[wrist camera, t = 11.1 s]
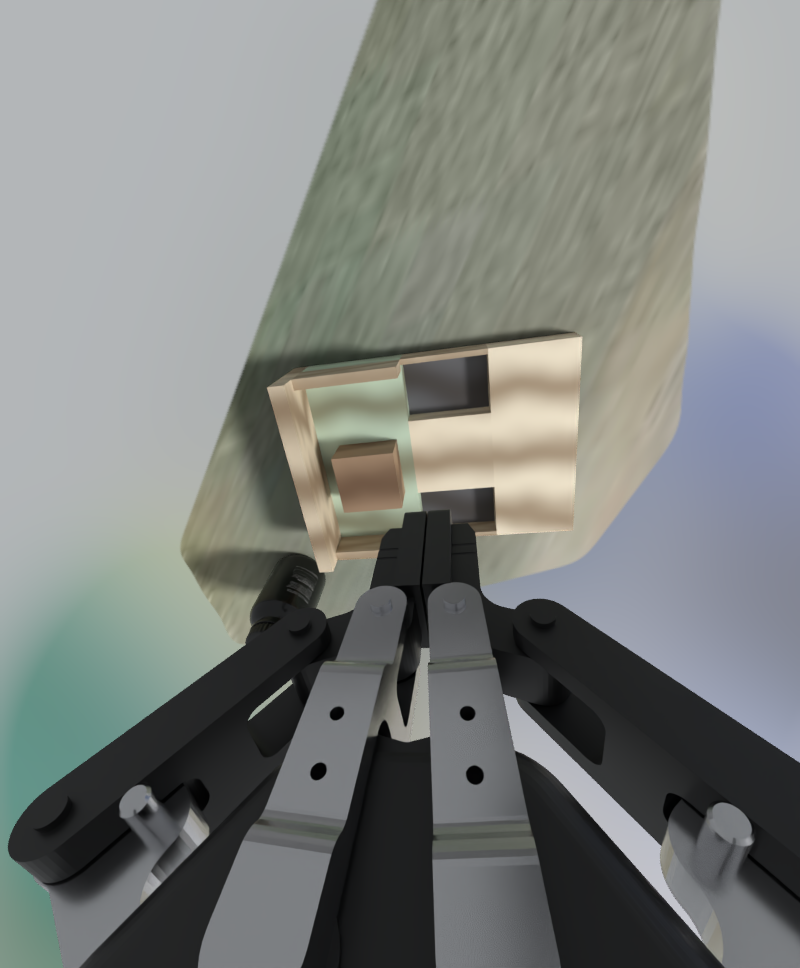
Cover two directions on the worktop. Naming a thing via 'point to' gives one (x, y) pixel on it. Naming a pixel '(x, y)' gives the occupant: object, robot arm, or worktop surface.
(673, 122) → the worktop surface
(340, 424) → the box
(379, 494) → the walnut block
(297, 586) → the supplement bottle
